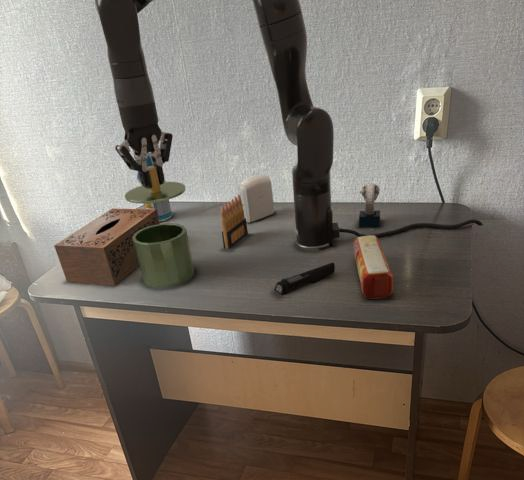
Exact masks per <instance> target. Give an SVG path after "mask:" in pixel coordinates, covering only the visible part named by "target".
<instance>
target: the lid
mask: <svg viewBox="0 0 524 480" xmlns="http://www.w3.org/2000/svg"><path fill="white" fill-rule="evenodd" d="M147 171H149V176H150V181H151V185H152V188H150V189H147V188H145V187H144V186H139V185H138V186H137V187H134V188H132V189H130V190H128V191H127V192H126V193H125V194H124V199H125V201H127V202H129V203H132V204H143V203H156V202H161V201H165V200H169V201H170V200H171V199H174V198H177V197H180V196H181V195H182V194H184V193H185V192H186V189H187V188H186V185H185V184H184V183H182V182H177V181H166V182H164V184H162V185H160V183H159V178H158V173H157V169H156V167H147Z"/></svg>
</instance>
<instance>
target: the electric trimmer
mask: <svg viewBox="0 0 524 480" xmlns="http://www.w3.org/2000/svg"><path fill="white" fill-rule="evenodd" d="M335 269H336V265H335V263H334V262H330V263H326V264H324V265H321V266H319V267H316V268H315V267H314V268H313V269H310V270H307V271H303V272H301V273H299V274H295V275H292V276H291V277H290V276H289V277H287V278H282V279H281V280H279V281H278V282H277V283H276V284H275V286H274V292H276V293H278V294H279V295H280V296H286V295H287V294H288V293H289V292H291V291H294V290H296V289H298V288H301V287H304V286H306V285H308V284H316V283H317V282H319V281H321V280H323V279H325V278H327V277H329V276H331V275H332V274H334V273H335Z"/></svg>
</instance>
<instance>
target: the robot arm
mask: <svg viewBox="0 0 524 480" xmlns="http://www.w3.org/2000/svg"><path fill="white" fill-rule="evenodd" d="M153 1H155V0H94V5H95V10H96V13H97V15H98V18H99V21H100V24H101V28H102V29H101V30H102V32H103V36H104V40H105V43H106V53H107V59H108V63H109V68H110V72H111V77H112V81H113V90H114V95H115V99H116V100H115V101H116V103H117V108H118V112H119V116H120V121H121V125H122V128H123V130H124V137H123V138H124V140H123V142H122V143H121V144H117V145H115V148H114V149H115V151H116V153H117V154H118V155H119V156H120V158H121V160H122V161H123V162H124V163H125V165H126V166H127V168H128V169H129V170H131V171H136V172H137V173H138V172H139V176H140V180H141V184H142V186H144V187H145V188H147V189H150V188H152V185H151V181H150V176H149V171H147V159H148V157H147V153H148V155H149V156H150V158H151V161H152V164H153V165H154V167H156V169H157V173H158V178H159V183H160V185H162V184H164V182H163V181H164V180H166V179H165V173H164V169H163V166H164V164H166V163H168V162H169V161H170V155H171V150H172V149H171V148H172V143H173V136H174V135H173V134H172V133H171V132H165V131H162V129H161V127H160V126H159V116H158V111H157V105H156V101H155V96H154V95H155V94H154V90H153V86H152V82H151V79H150V77H149V72H148V67H147V61H146V56H145V53H144V49H143V46H142V40H141V31H140V24H139V23H140V22H139V16H138V14H139V13H140V12H141V11H142V10H144V9H145V8H146V7H147V6H148V5H150V4H151V3H152V2H153ZM252 3H253V7H254V8H253V9H254V11H255V15H256V21H257V25H258V29H259V32H260V36H261V40H262V43H263V47H264V49H265V53H266V57H267V60H268V64H269V66H270V71H271V75H272V78H273V82H274V85H275V87H276V92H277V97H278V101H279V108H280V113H281V120H282V126H283V131H284V134H285V136H286V138H287V140H288V141H289V142H290V143H291V144H292V145H294V146H295V147H296V153H297V157H296V158H297V161H296V164H295V165H293V167H292V169H291V179H292V190H293V192H292V193H293V194H292V195H293V207H294V222H295V226H293V228H294V229H293V230H294V233H295V235H296V236H295V237H296V238H295V240H296V242H295V243H296V246H297V247H298V248H300V249H303V250H308V251H309V250H319V251H322V250H326V249H328V248H331V247H334V239H340V237H341V236H340V233H343V234H345V233H346V234H351V235H355V236H356V237H357V238H358V237H361V236H368V235H369V234H364V233H360V232H358V231H356V230H353V229H349V228H340V227H339V223H338V222H334V221H333V209H332V191H331V189H332V188H331V187H332V186H331V185H332V184H331V169H332V167H333V164H334V144H335V143H334V142H335V141H334V140H335V139H334V138H335V137H334V136H335V134H334V133H335V131H334V123H333V120H332V117H331V115H330V114H329V112H328V111H326V110H325V109H323V108H320V107H317V106H314V103H313V100H312V98H311V94H310V91H309V87H308V82H307V73H306V71H307V58H308V57H307V55H308V36H307V35H308V34H307V30H306V23H305V20H304V15H303V10H302V6H301V3H300V0H252ZM130 148H131V149H132V151H133V155H132V154H131V149H130ZM140 154H141V155H140ZM135 160H136V161H135ZM469 224H476V225H477V226H483V225H484V224H483V223H482V221H481V220H478V219H476V218H475V219H473V218H472V219H467V220H465V221H462V222H459V223H456V224H441V223H431V222H418V223H417V222H416V223H412V224H408V225H405V226H402V227H400V228H396V229H393V230H389V231H388V230H387V231H383V232H380V233H373V234H372V235H374V236H376V237H377V238H381V237H386V236H392V235H395V234H398V233H401V232H405V231H407V230H410V229H414V228H421V227H423V228H424V227H426V228H427V227H428V228H435V229H448V230H449V229H451V230H452V229H459V228H462V227H464V226H467V225H469Z"/></svg>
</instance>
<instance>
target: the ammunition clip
mask: <svg viewBox="0 0 524 480" xmlns="http://www.w3.org/2000/svg"><path fill="white" fill-rule="evenodd" d="M220 217H221V218H220V219H221V229H222V231H221V238H222V245H223V249H228V250H230V249H232V248H233V247H234V246H235V245H236V244H237V243H239V242H240V241H241V240H243V239H244V238H245V237H246V236H247V235H249V231H248V224H247V223H248V222H246V218H245V217H244V210H243V206H242V201H241V197H240V193H238V194H237V196H236V195H235V196H234V199H233V198H231V200H228V201H227V203H226V202H225V203H224V205H221V207H220Z"/></svg>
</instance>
